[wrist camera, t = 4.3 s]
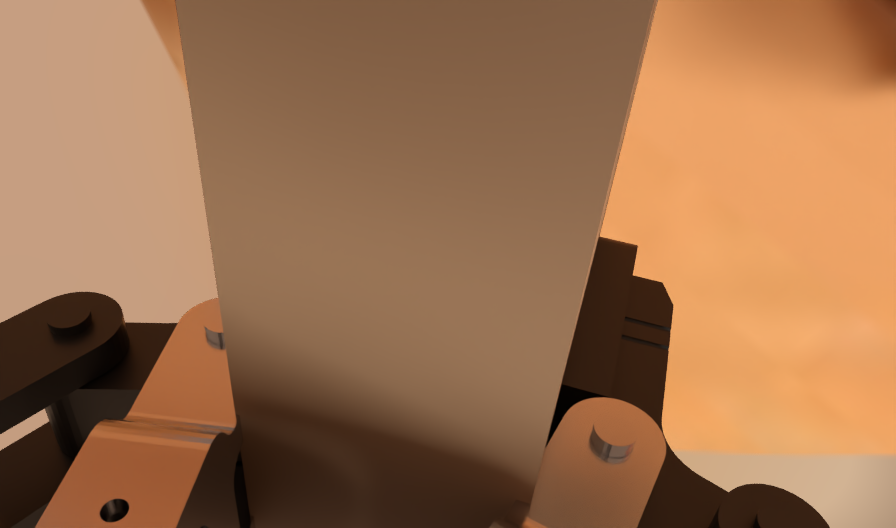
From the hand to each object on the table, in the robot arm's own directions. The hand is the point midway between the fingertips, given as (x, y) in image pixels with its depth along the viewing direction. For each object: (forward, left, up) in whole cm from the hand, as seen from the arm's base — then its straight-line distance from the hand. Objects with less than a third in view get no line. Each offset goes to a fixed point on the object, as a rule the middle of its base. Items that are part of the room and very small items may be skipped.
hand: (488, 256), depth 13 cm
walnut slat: (0, 0, -1) cm, 1 cm away
